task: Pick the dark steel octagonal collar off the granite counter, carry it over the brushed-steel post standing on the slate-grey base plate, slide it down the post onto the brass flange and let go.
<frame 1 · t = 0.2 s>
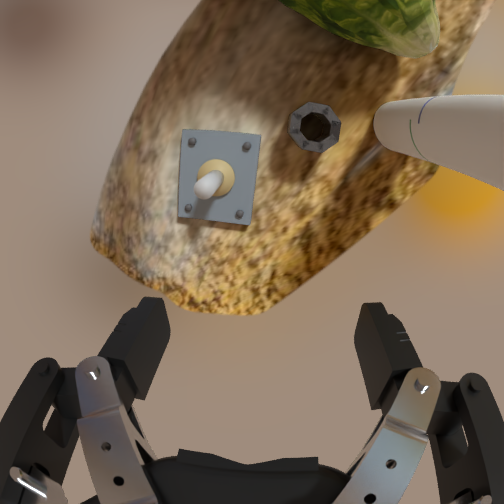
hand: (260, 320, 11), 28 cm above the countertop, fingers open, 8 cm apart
cylindrical container: (395, 126, 31), on the countertop
collar: (309, 127, 32), on the countertop
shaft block: (218, 175, 36), on the countertop
lettuce: (342, 5, 24), on the countertop
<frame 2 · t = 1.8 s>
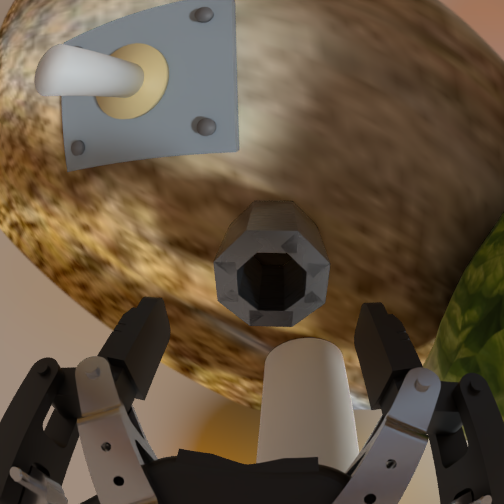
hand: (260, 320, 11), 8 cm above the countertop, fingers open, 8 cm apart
cylindrical container: (304, 363, 23), on the countertop
collar: (273, 242, 18), on the countertop
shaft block: (143, 83, 14), on the countertop
lettuce: (487, 273, 18), on the countertop
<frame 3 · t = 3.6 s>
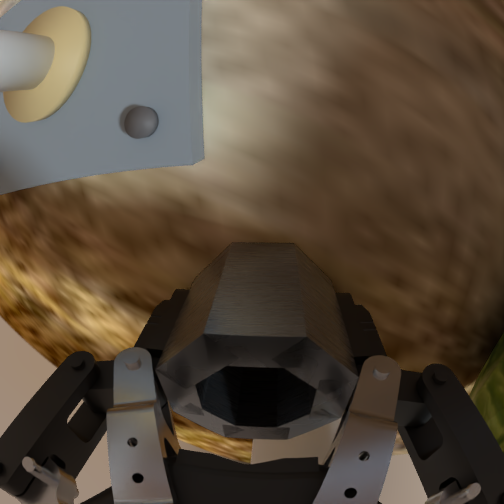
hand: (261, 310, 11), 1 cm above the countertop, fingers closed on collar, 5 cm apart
cylindrical container: (302, 427, 17), on the countertop
collar: (262, 303, 12), on the countertop, touching gripper
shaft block: (67, 65, 7), on the countertop
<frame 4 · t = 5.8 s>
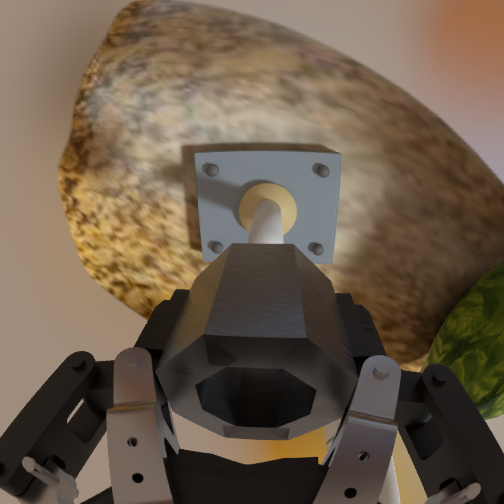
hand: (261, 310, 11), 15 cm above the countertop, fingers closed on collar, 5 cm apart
cylindrical container: (344, 372, 34), on the countertop
collar: (262, 303, 12), point 14 cm above the countertop, touching gripper
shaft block: (268, 205, 24), on the countertop
lettuce: (464, 313, 29), on the countertop
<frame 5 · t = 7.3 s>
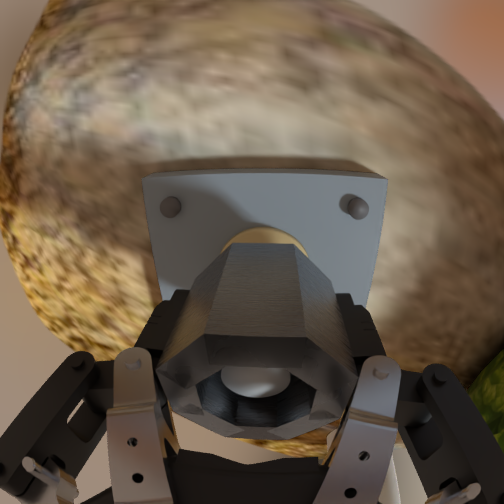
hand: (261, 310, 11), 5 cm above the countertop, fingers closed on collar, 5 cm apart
cylindrical container: (356, 432, 25), on the countertop
collar: (262, 303, 12), point 4 cm above the countertop, touching gripper
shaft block: (264, 256, 16), on the countertop
lettuce: (497, 361, 20), on the countertop
when the fingers open (4 cm above the countertop, at t = 8.3 s): collar drops 2 cm, resting on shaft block.
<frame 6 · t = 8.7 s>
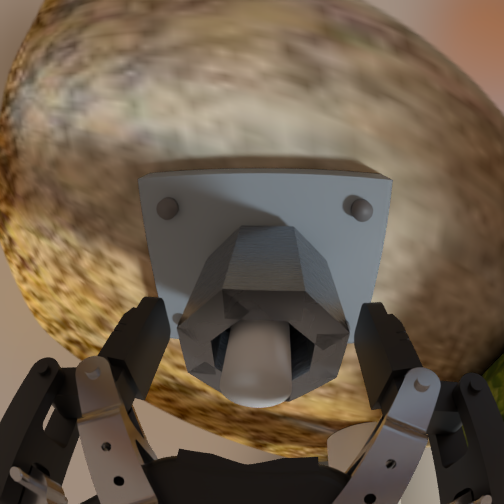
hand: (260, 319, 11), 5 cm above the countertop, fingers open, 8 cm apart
cylindrical container: (356, 434, 25), on the countertop
collar: (266, 280, 13), point 2 cm above the countertop, touching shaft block
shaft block: (264, 259, 15), on the countertop
lettuce: (498, 363, 19), on the countertop
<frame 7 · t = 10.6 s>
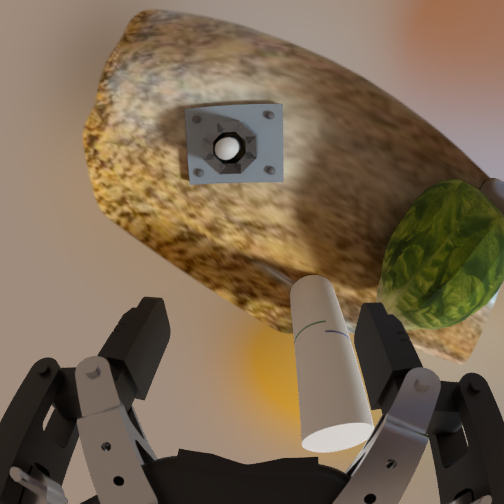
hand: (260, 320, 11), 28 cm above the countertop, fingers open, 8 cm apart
cylindrical container: (311, 293, 43), on the countertop
collar: (234, 144, 31), point 2 cm above the countertop, touching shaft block
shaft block: (235, 143, 33), on the countertop
lettuce: (416, 239, 38), on the countertop
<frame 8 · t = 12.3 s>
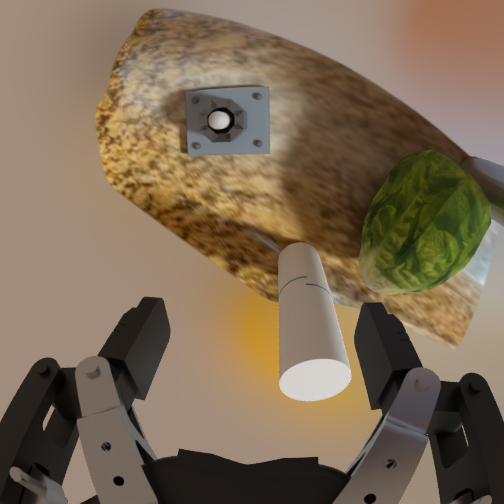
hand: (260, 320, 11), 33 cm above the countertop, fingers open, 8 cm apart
cylindrical container: (298, 261, 47), on the countertop
collar: (227, 121, 35), point 2 cm above the countertop, touching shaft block
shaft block: (228, 121, 37), on the countertop
lettuce: (397, 212, 41), on the countertop
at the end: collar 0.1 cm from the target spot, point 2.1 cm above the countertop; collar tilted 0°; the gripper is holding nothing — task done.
